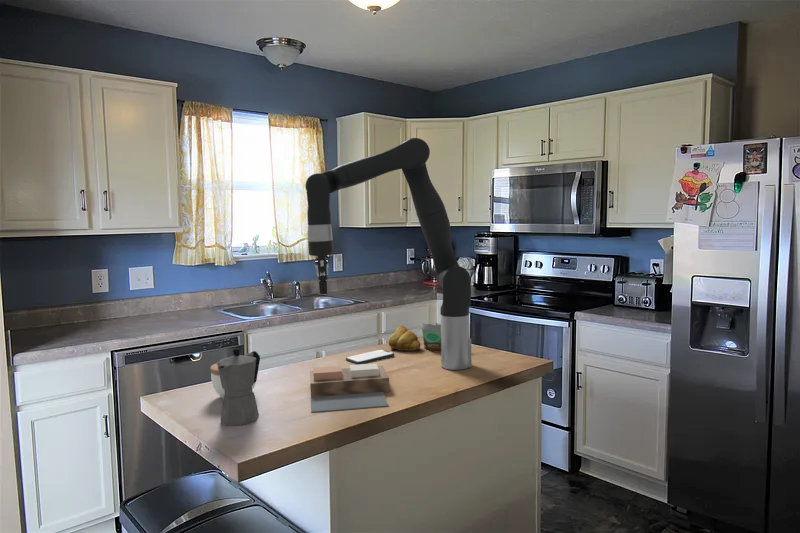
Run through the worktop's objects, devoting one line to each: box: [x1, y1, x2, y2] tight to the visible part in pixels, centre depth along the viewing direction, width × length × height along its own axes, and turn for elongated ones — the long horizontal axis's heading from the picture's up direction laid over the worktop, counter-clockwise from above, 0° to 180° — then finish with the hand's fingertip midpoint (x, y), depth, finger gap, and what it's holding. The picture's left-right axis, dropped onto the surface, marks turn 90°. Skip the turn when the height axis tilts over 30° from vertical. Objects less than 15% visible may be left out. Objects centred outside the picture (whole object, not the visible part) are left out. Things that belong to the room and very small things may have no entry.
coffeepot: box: [216, 347, 261, 427], centre depth 137 cm, size 15×9×18 cm, turn 159°
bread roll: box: [388, 325, 421, 352], centre depth 205 cm, size 13×10×8 cm
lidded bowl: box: [209, 362, 257, 400], centre depth 155 cm, size 13×13×11 cm
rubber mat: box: [310, 392, 390, 414], centre depth 148 cm, size 20×12×1 cm, turn 100°
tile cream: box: [348, 362, 379, 378], centre depth 160 cm, size 8×6×2 cm
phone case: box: [345, 349, 395, 365], centre depth 193 cm, size 9×2×16 cm
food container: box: [420, 322, 441, 352], centre depth 202 cm, size 12×6×10 cm, turn 80°
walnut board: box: [309, 365, 390, 398], centre depth 160 cm, size 22×13×4 cm, turn 100°
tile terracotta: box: [312, 365, 343, 380], centre depth 158 cm, size 8×6×2 cm
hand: (323, 292), depth 170 cm, fingers open, 8 cm apart
